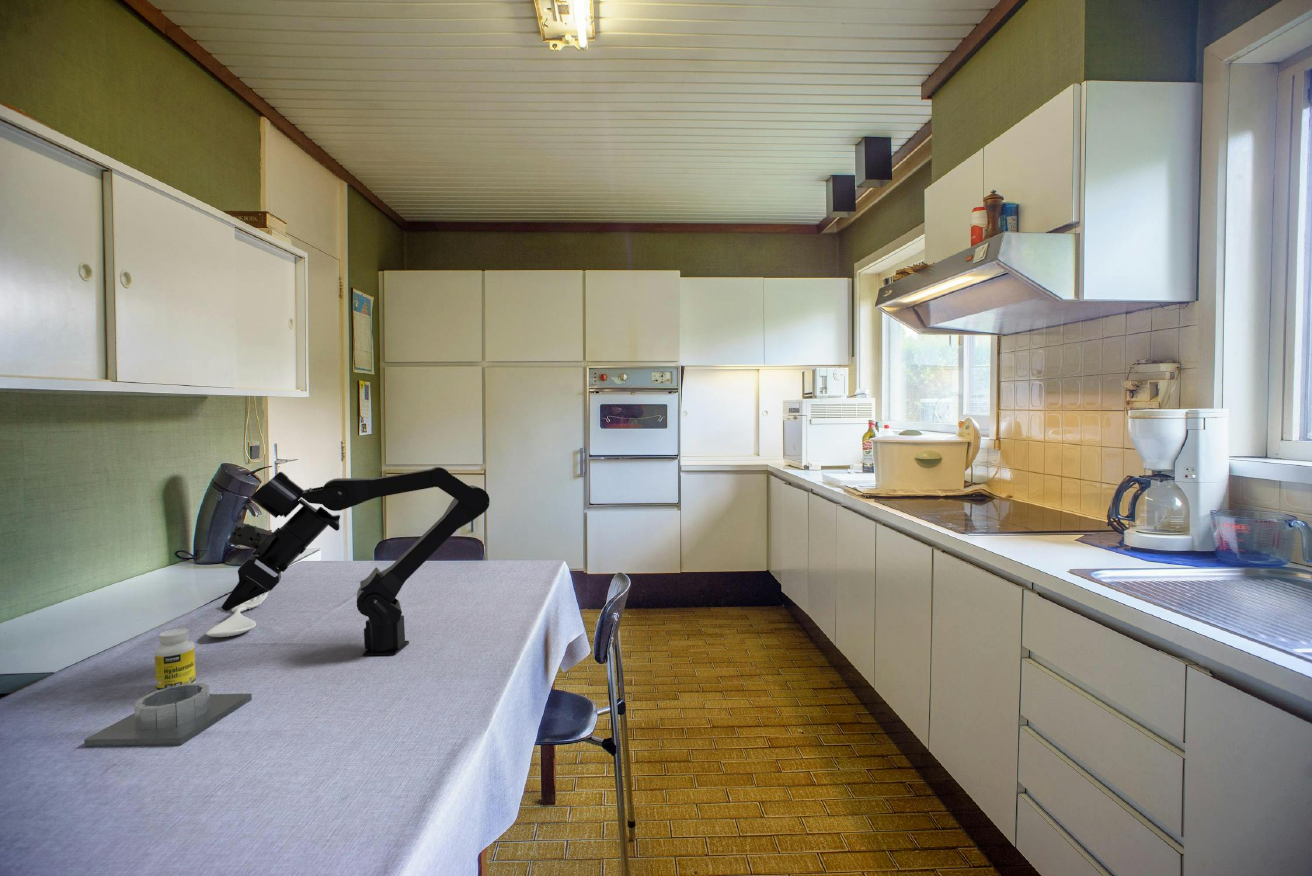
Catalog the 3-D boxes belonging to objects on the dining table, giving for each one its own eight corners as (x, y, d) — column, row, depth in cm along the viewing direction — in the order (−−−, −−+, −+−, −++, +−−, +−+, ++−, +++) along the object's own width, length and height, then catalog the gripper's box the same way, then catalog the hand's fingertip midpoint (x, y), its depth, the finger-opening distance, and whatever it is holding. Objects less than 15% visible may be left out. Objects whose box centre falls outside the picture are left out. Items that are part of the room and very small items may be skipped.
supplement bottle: (161, 697, 100) (158, 639, 100) (152, 690, 103) (149, 633, 103) (200, 686, 104) (197, 629, 104) (190, 678, 108) (187, 624, 107)
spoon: (270, 602, 157) (269, 589, 157) (253, 639, 129) (252, 623, 128) (228, 608, 153) (227, 594, 153) (200, 647, 124) (200, 631, 124)
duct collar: (251, 699, 98) (250, 675, 98) (180, 745, 84) (179, 717, 84) (168, 700, 99) (167, 676, 99) (84, 746, 85) (83, 718, 85)
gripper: (266, 501, 118) (199, 565, 113) (251, 512, 101) (172, 587, 96) (314, 536, 121) (251, 600, 117) (308, 553, 105) (234, 627, 100)
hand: (228, 602), depth 107 cm, fingers open, 9 cm apart
